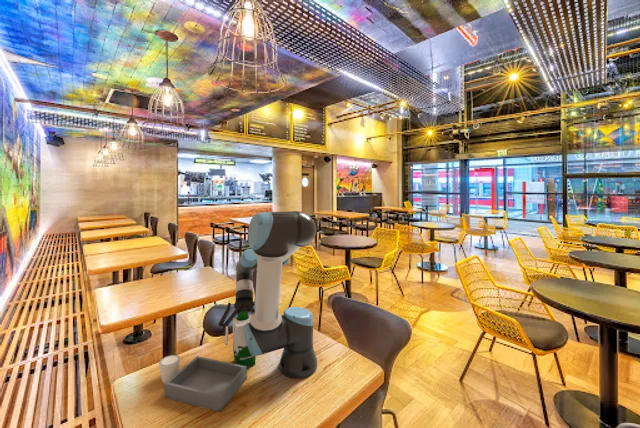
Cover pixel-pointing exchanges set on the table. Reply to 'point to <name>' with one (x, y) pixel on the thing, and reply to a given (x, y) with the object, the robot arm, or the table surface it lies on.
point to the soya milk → (241, 341)
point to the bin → (206, 383)
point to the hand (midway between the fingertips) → (244, 342)
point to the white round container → (169, 367)
